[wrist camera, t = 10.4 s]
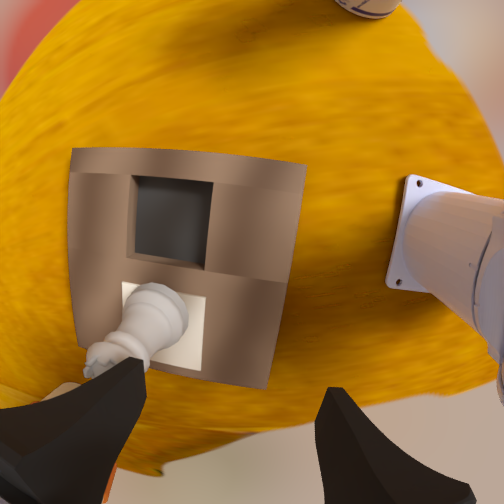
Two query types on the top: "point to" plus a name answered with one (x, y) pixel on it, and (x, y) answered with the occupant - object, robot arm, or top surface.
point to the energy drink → (370, 7)
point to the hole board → (186, 251)
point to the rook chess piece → (140, 329)
